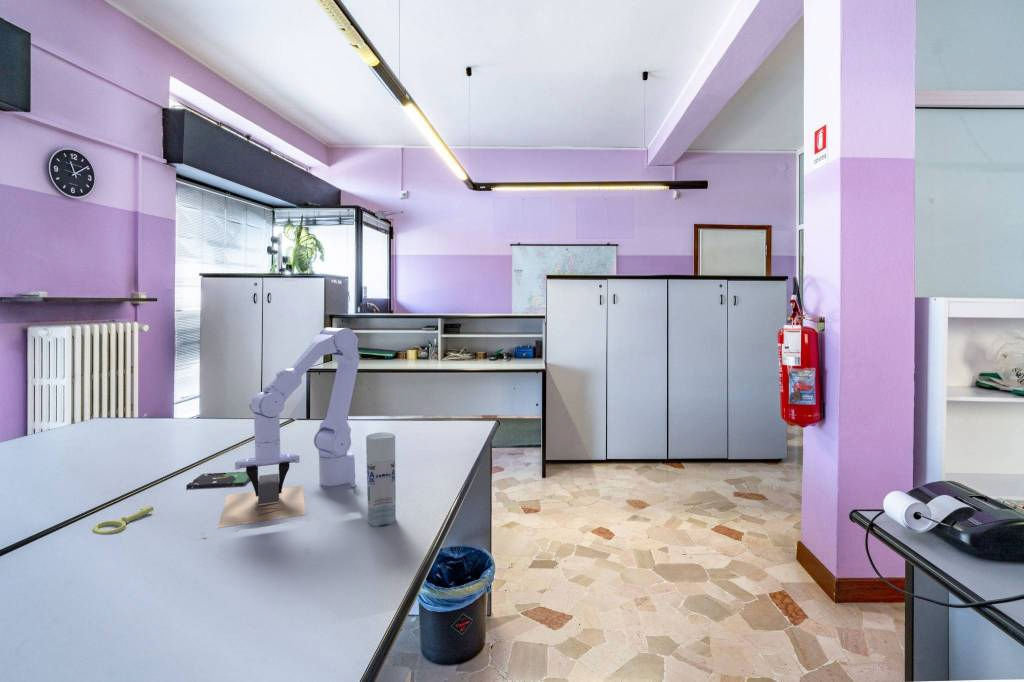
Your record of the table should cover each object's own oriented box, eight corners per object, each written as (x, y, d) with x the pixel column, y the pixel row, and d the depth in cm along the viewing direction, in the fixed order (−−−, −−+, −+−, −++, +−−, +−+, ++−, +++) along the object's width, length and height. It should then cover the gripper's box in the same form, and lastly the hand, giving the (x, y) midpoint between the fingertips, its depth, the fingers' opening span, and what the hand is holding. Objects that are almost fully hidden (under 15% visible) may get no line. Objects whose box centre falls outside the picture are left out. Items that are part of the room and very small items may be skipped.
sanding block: (279, 492, 133) (278, 473, 133) (278, 502, 126) (278, 482, 126) (259, 494, 131) (259, 475, 131) (258, 505, 124) (257, 485, 124)
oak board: (302, 489, 139) (302, 485, 139) (306, 519, 119) (306, 514, 119) (227, 499, 132) (226, 495, 132) (217, 533, 112) (217, 527, 112)
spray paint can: (365, 517, 120) (364, 433, 119) (393, 513, 123) (392, 431, 122) (369, 528, 114) (368, 440, 113) (398, 523, 117) (397, 437, 116)
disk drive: (185, 495, 136) (245, 491, 139) (185, 485, 136) (245, 481, 139) (202, 483, 147) (257, 479, 149) (201, 473, 146) (257, 470, 149)
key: (156, 513, 124) (155, 505, 124) (116, 536, 111) (116, 526, 111) (126, 514, 124) (125, 505, 124) (83, 536, 111) (83, 526, 111)
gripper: (298, 434, 134) (299, 484, 135) (236, 439, 128) (237, 492, 129) (299, 440, 128) (300, 493, 129) (233, 446, 122) (235, 502, 123)
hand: (268, 493), depth 128 cm, fingers closed on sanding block, 4 cm apart
